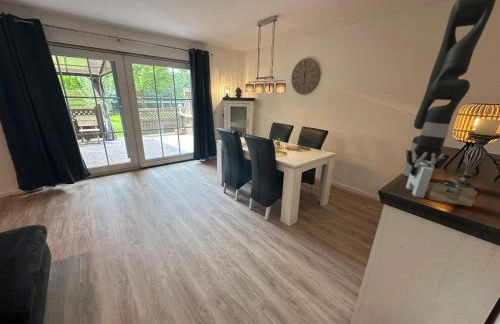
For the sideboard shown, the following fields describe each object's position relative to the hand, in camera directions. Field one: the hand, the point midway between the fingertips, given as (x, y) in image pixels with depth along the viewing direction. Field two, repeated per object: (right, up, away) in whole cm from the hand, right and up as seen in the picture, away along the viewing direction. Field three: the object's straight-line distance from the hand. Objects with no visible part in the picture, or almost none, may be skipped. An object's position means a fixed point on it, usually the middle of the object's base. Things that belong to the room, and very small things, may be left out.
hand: (419, 176), depth 83 cm
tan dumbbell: (+7, -9, -4) cm, 13 cm away
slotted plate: (0, -7, +2) cm, 7 cm away
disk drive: (+20, -8, +7) cm, 23 cm away
